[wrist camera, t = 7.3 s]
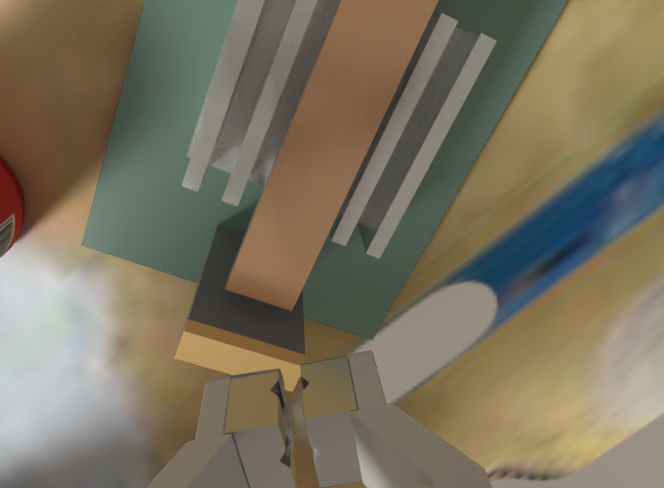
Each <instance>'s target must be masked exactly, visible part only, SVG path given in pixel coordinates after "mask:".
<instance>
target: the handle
mask: <svg viewBox="0 0 664 488" xmlns="http://www.w3.org/2000/svg"><path fill="white" fill-rule="evenodd" d="M438 1H439V0H339V2H338V4H337V7H336V9H335V12H334V14H333V17H332V19H331V22H330V24H329V27H328V29H327V32H326V34H325V37H324V39H323V42H322V44H321V47H320V49H319V52H318V54H317V57H316V59H315V62H314V64H313V67H312V69H311V72H310V74H309V77H308V79H307V81H306V84H305V86H304V89H303V91H302V94H301V96H300V99H299V101H298V104H297V106H296V109H295V111H294V114H293V116H292V119H291V121H290V124H289V126H288V129H287V131H286V134H285V136H284V139H283V141H282V144H281V146H280V149H279V151H278V154H277V156H276V159H275V161H274V164H273V166H272V168H271V171H270V173H269V176H268V178H267V181H266V183H265V186H264V188H263V191H262V193H261V196H260V198H259V201H258V203H257V206H256V208H255V211H254V213H253V216H252V218H251V221H250V223H249V226H248V228H247V231H246V233H245V236H244V238H243V241H242V243H241V246H240V248H239V251H238V253H237V255H236V258H235V260H234V263H233V265H232V268H231V270H230V273H229V275H228V278H227V281H226V285H225V290H228V291H231V292H234V293H238V294H241V295H244V296H247V297H250V298H253V299H256V300H259V301H262V302H265V303H268V304H271V305H274V306H278V307H281V308H284V309H287V310H290V311H292V310H293V308H294V306H295V303H296V301H297V299H298V297H299V295H300V293H301V291H302V289H303V287H304V284H305V282H306V280H307V278H308V276H309V274H310V272H311V270H312V267H313V265H314V263H315V261H316V259H317V257H318V255H319V253H320V251H321V248H322V246H323V244H324V242H325V240H326V238H327V236H328V234H329V231H330V229H331V227H332V225H333V223H334V221H335V219H336V217H337V215H338V212H339V210H340V208H341V206H342V204H343V202H344V200H345V198H346V195H347V193H348V191H349V189H350V187H351V185H352V183H353V181H354V178H355V176H356V174H357V172H358V170H359V168H360V166H361V164H362V162H363V159H364V157H365V155H366V153H367V151H368V149H369V147H370V145H371V142H372V140H373V138H374V136H375V134H376V132H377V130H378V128H379V126H380V123H381V121H382V119H383V117H384V115H385V113H386V111H387V109H388V106H389V104H390V102H391V100H392V98H393V96H394V94H395V92H396V90H397V87H398V85H399V83H400V81H401V79H402V77H403V75H404V73H405V70H406V68H407V66H408V64H409V62H410V60H411V58H412V56H413V54H414V51H415V49H416V47H417V45H418V43H419V41H420V39H421V37H422V34H423V32H424V30H425V28H426V26H427V24H428V22H429V20H430V17H431V15H432V13H433V11H434V9H435V7H436V5H437V3H438Z"/></svg>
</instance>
